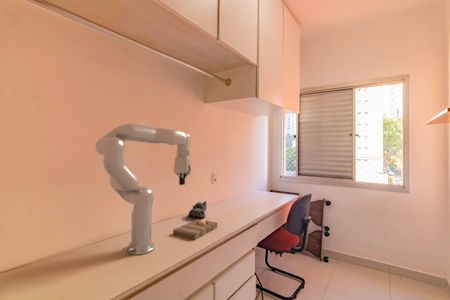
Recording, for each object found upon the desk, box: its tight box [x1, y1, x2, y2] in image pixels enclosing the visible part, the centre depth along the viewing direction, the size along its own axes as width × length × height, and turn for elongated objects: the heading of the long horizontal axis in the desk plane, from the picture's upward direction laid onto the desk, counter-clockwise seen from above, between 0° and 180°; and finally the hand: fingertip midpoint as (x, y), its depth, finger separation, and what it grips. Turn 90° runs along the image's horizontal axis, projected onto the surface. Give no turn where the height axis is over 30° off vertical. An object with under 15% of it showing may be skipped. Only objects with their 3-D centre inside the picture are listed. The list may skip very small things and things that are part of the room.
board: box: [172, 218, 218, 241], centre depth 140 cm, size 24×16×3 cm, turn 150°
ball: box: [198, 219, 206, 226], centre depth 146 cm, size 5×5×5 cm
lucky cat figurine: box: [187, 200, 207, 219], centre depth 170 cm, size 15×12×14 cm
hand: (181, 184), depth 134 cm, fingers closed
